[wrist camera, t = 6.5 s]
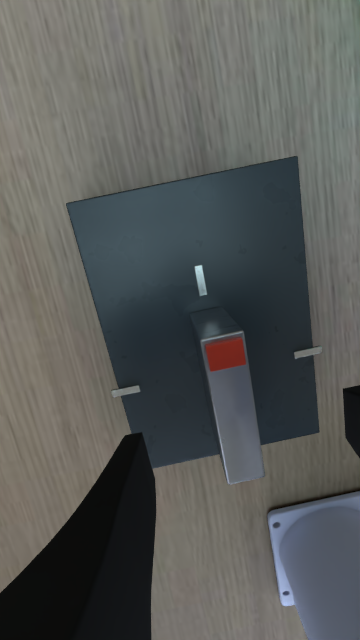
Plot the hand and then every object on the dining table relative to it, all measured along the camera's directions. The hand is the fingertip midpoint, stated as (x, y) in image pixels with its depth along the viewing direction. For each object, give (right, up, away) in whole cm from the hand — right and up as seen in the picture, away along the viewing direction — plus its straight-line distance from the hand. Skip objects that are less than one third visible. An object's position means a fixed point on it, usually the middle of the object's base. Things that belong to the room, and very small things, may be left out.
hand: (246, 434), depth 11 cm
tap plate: (-1, +4, +7) cm, 8 cm away
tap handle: (0, +1, +5) cm, 5 cm away
